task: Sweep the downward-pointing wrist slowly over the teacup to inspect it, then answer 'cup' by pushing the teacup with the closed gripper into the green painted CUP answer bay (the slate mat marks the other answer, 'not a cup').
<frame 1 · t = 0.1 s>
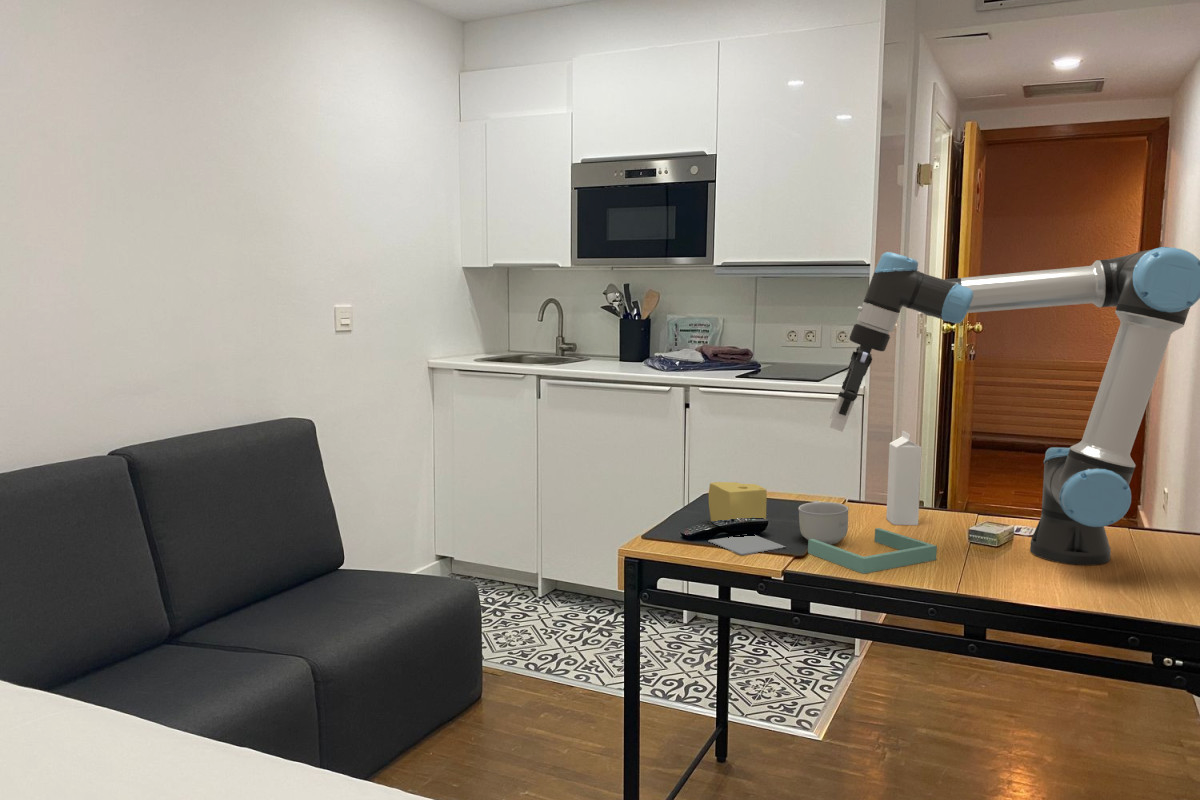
hand: (836, 424, 192), 28 cm above the table, tool tilted 20°, fingers open, 13 cm apart
cup bay: (869, 555, 194), on the table
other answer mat: (746, 545, 201), on the table
teacup: (821, 540, 206), on the table
milk: (901, 522, 222), on the table
cheese: (737, 527, 217), on the table
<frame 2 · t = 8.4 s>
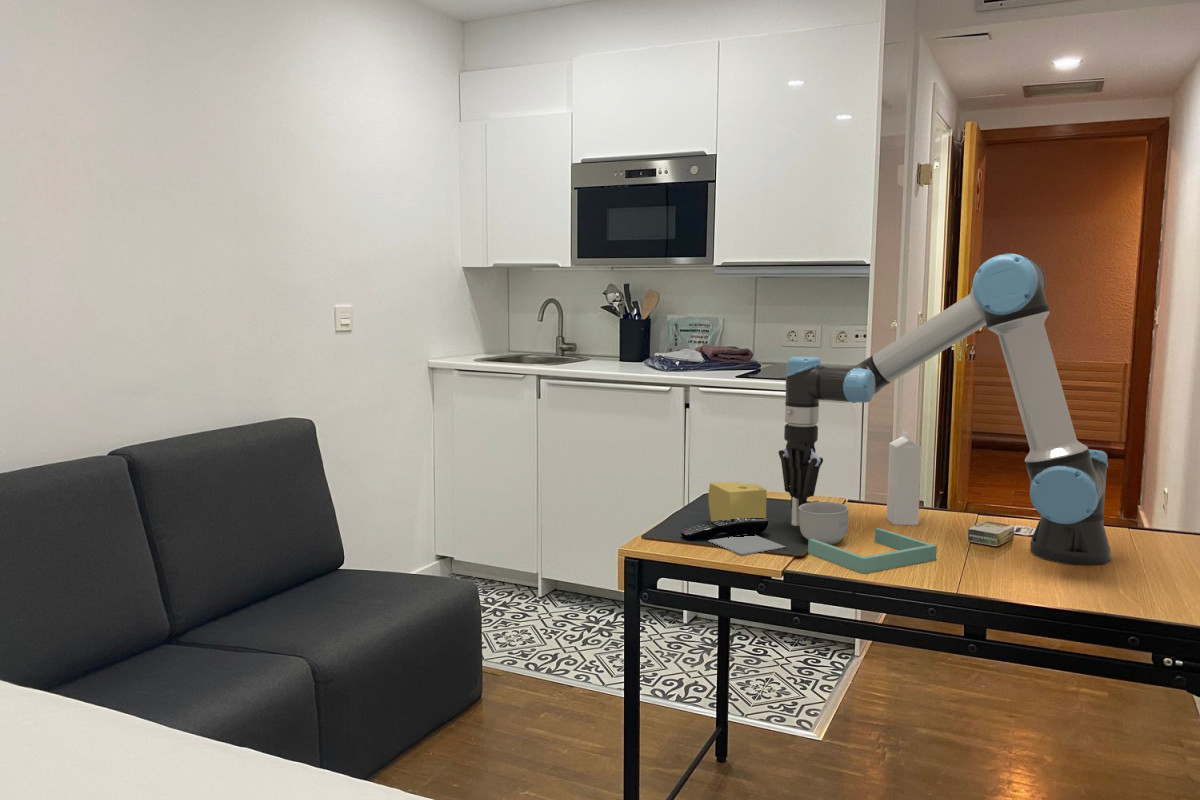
hand: (798, 524, 213), 2 cm above the table, tool pointing down, fingers closed
teacup: (822, 540, 206), on the table, touching gripper
everything else where it was.
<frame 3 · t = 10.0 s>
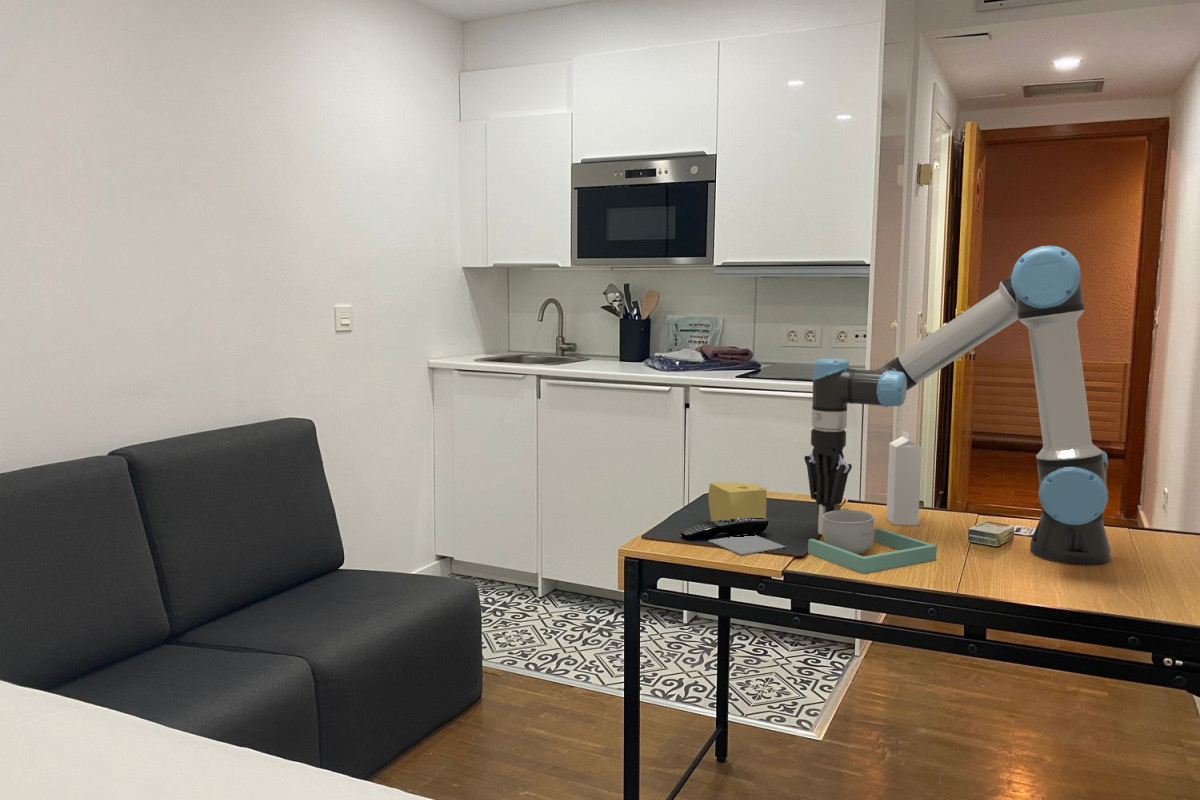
hand: (824, 532, 206), 2 cm above the table, tool pointing down, fingers closed
teacup: (847, 550, 199), on the table, touching gripper
everything else where it was.
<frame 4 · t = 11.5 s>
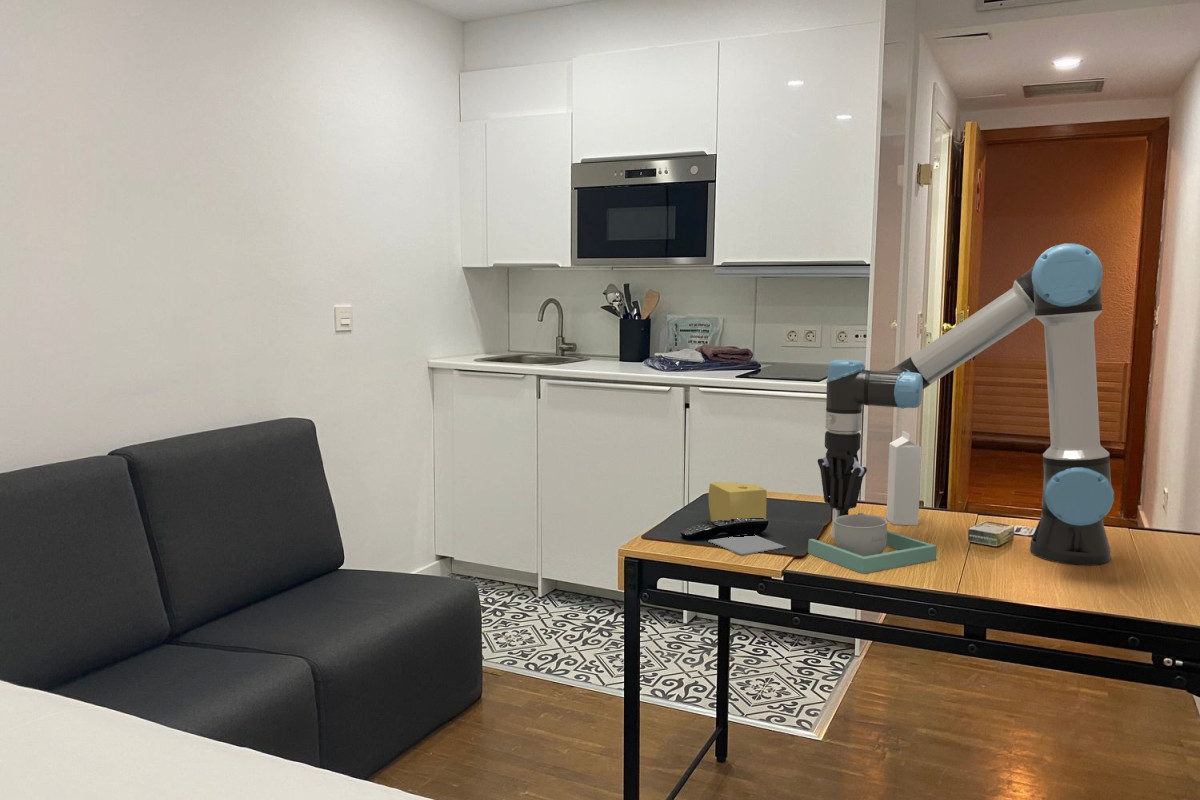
hand: (838, 537, 202), 2 cm above the table, tool pointing down, fingers closed
teacup: (860, 555, 195), on the table, touching gripper
everything else where it was.
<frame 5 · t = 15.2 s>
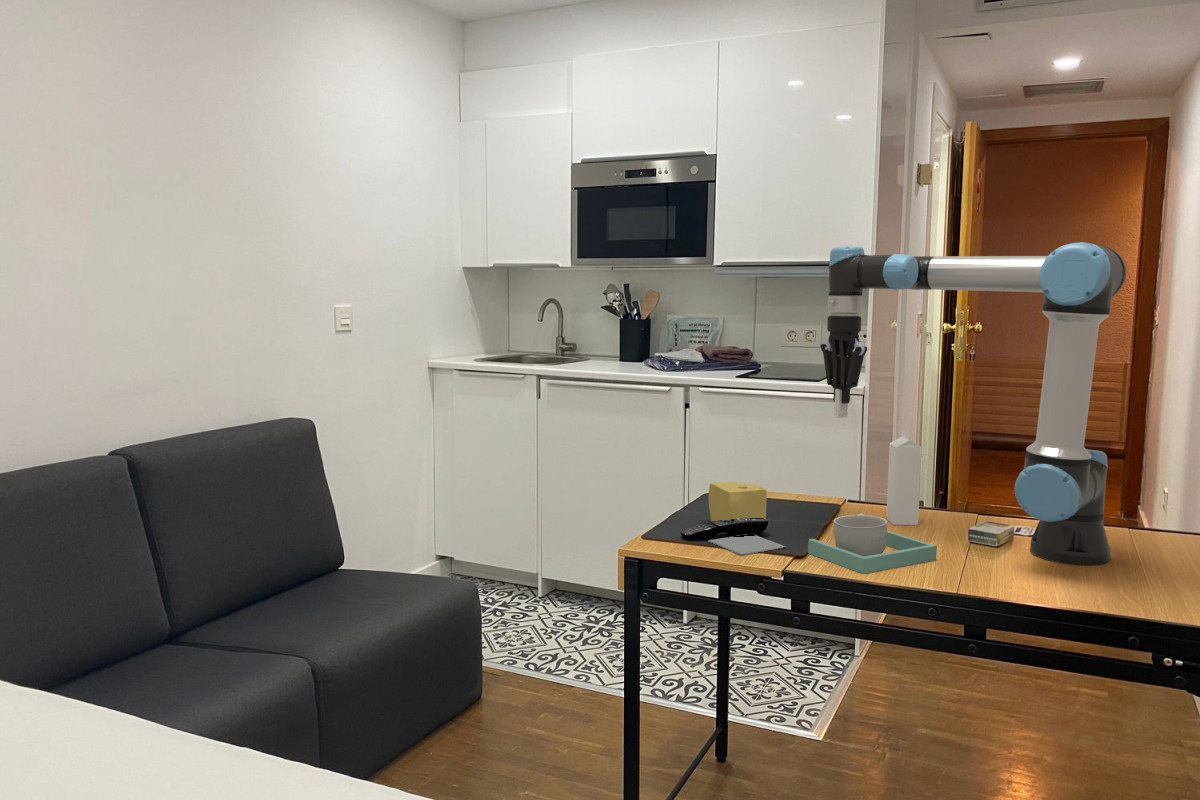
hand: (840, 416, 213), 26 cm above the table, tool pointing down, fingers closed
teacup: (860, 555, 195), on the table
everything else where it was.
at the end: teacup inside the target area (1.1 cm from its centre), on the table; teacup tilted 0° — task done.
